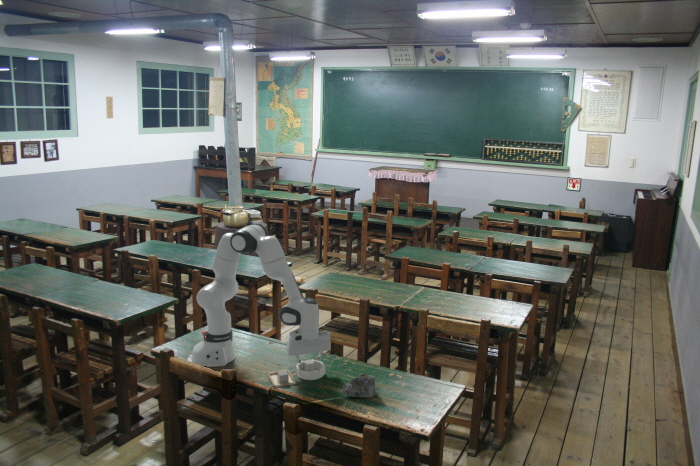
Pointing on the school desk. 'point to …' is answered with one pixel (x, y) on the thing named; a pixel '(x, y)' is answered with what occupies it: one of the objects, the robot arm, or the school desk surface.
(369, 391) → the mineral rock
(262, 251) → the robot arm
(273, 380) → the tray
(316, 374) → the bowl
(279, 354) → the school desk surface
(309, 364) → the grey cube
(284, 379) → the grey rectangular block
